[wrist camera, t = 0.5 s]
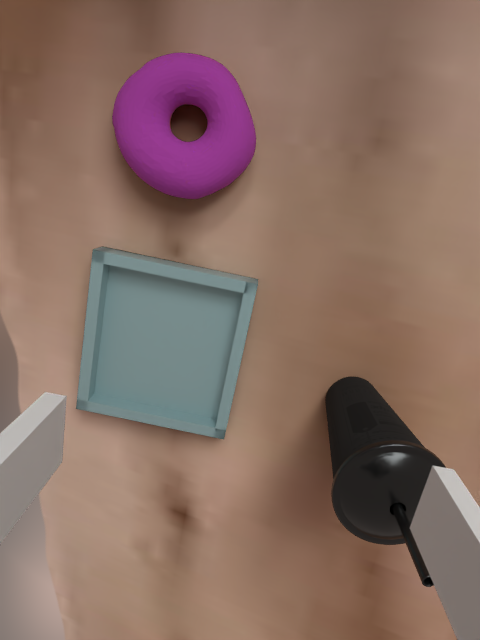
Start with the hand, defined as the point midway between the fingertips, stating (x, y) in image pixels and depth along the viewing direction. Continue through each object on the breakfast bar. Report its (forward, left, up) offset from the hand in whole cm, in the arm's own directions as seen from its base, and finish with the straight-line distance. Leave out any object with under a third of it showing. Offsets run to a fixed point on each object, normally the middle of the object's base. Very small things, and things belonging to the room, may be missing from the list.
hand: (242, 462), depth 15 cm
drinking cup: (+7, +11, -25) cm, 28 cm away
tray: (+5, -7, -24) cm, 26 cm away
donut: (-13, -8, -25) cm, 29 cm away
